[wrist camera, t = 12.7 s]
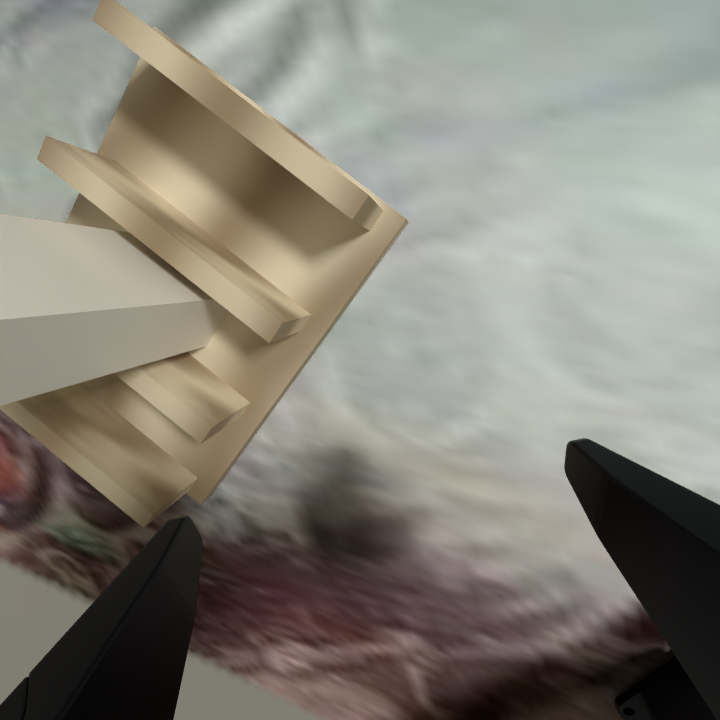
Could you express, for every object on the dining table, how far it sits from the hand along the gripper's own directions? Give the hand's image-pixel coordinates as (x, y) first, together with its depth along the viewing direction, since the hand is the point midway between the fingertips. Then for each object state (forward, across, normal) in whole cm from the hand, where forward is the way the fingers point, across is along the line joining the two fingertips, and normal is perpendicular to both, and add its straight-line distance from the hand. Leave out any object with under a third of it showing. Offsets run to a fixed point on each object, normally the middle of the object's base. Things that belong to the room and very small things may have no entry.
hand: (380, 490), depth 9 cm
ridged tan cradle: (+14, +8, -2) cm, 16 cm away
